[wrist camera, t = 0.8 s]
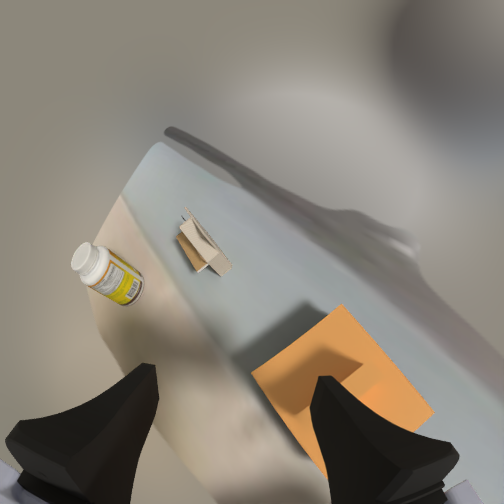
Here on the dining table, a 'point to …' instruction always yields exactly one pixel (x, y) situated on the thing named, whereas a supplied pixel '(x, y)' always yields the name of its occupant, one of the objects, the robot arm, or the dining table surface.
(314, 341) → the lid
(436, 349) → the dining table surface
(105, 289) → the supplement bottle
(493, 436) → the dining table surface
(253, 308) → the dining table surface
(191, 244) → the architectural model
